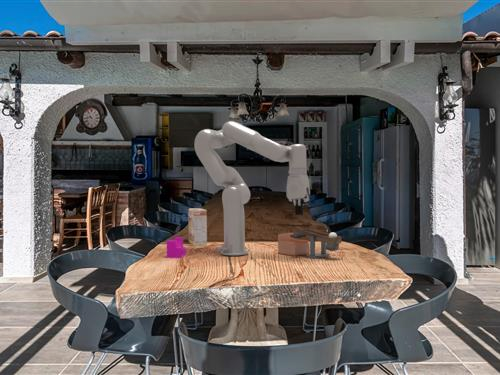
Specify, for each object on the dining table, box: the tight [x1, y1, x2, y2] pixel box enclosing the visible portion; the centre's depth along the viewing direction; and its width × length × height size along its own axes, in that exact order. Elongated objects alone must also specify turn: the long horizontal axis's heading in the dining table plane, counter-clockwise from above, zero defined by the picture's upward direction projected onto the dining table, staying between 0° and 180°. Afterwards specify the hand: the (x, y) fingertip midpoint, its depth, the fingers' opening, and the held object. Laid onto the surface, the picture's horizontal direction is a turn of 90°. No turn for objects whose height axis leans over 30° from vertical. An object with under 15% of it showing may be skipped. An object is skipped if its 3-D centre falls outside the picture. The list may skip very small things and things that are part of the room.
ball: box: [328, 231, 338, 238], centre depth 201 cm, size 4×4×4 cm
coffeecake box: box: [187, 207, 208, 247], centre depth 244 cm, size 15×7×20 cm, turn 17°
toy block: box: [166, 236, 187, 259], centre depth 215 cm, size 15×6×8 cm, turn 174°
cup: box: [277, 232, 310, 257], centre depth 217 cm, size 10×10×9 cm
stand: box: [305, 236, 331, 260], centre depth 206 cm, size 10×5×10 cm, turn 134°
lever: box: [290, 227, 342, 252], centre depth 204 cm, size 13×20×6 cm, turn 44°
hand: (299, 214), depth 206 cm, fingers closed
